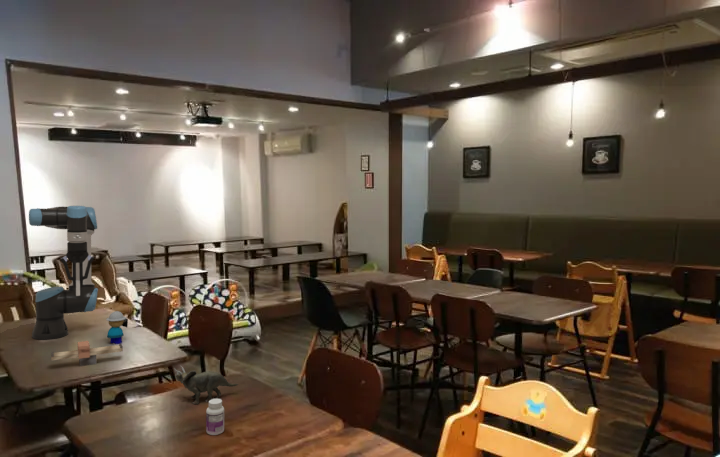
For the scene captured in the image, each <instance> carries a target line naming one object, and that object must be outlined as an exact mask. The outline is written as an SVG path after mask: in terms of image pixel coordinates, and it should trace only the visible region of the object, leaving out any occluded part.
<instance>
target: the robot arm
mask: <svg viewBox="0 0 720 457" xmlns="http://www.w3.org/2000/svg"><path fill="white" fill-rule="evenodd" d="M28 223H29V225H30V226H32V227H35V226H36V227H46V228H50V229H54V230H55V229H57V230H66V231H67V232H66V238H67V239H66V240H67V244H66V245H67V248H66V249H67V251H66V252H67V253H66V254H65V255H64V256H63V257H61V258H60V262H61V263H62V264H63V266H64V270H65V273H66V276H67V280H69V281H71V283H70V284H69V285H68V289H64V287H63V286H54V287H47V288H44V289H41V290H39V291H37V292H36V293H35V301H34V302H35V324H34V326H33V329H32V333H31V334H32V335H31V337H32V339H34V340H38V341H39V340H43V341H44V340H53V339H58V338H63V337H65V336H68V335H69V328H68V325H67V323H66V321H65V317H64V316H65V314H74V313H78V314H79V313H87V312H88V313H89V312H94V310H96V307H97V299H98V292H99V288H97V287H96V286H95V283H93V282H92V281H93V280H92V263H93V261H94V260H95V257H94V256H92V235H94V233H95V230H98V221H97V215H96V210H95V208H94V207H92V206H84V205H69V206H56V207H55V206H54V207H49V208H48V207H47V208H38V207H37V208H30V209H29V211H28ZM68 261H70V263H71V273H70V268H69V265H68V263H67V262H68Z"/></svg>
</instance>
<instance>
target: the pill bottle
mask: <svg viewBox="0 0 720 457" xmlns="http://www.w3.org/2000/svg"><path fill="white" fill-rule="evenodd" d="M205 413H206V414H205V423H206V424H205V426H206V427H205V429H206V434H208V435H211V436H217V435H221V434H222V433H223V432H224V431H225V407H224V406H223V400H222V398H211V400H210V401H209V402H208V407H207V408H206V412H205Z"/></svg>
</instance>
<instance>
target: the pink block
mask: <svg viewBox="0 0 720 457" xmlns="http://www.w3.org/2000/svg"><path fill="white" fill-rule="evenodd" d="M90 348H91V345H90V342H89V340H83V341H78V342H77V350H78V353H79V357H78V360H79V359H81V358H88V357H90Z"/></svg>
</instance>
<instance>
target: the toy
mask: <svg viewBox="0 0 720 457" xmlns="http://www.w3.org/2000/svg"><path fill="white" fill-rule="evenodd" d="M105 320H106V321H107V322H108V325H109V326H110V328H109V329H108V331H107V335H106V338H109V339H110V344H114V345H119V344H122V341H123V340H122V338H123V337H124V330H123V329H122V327H124V328H128V324H129V322H128V321H129V319H128V318H127V317H126V316H124V314H123V313H122V312H121V311H118V310H116V311H113V312H111V313H110V314H109V316H108V317H107V318H106V319H105Z"/></svg>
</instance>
